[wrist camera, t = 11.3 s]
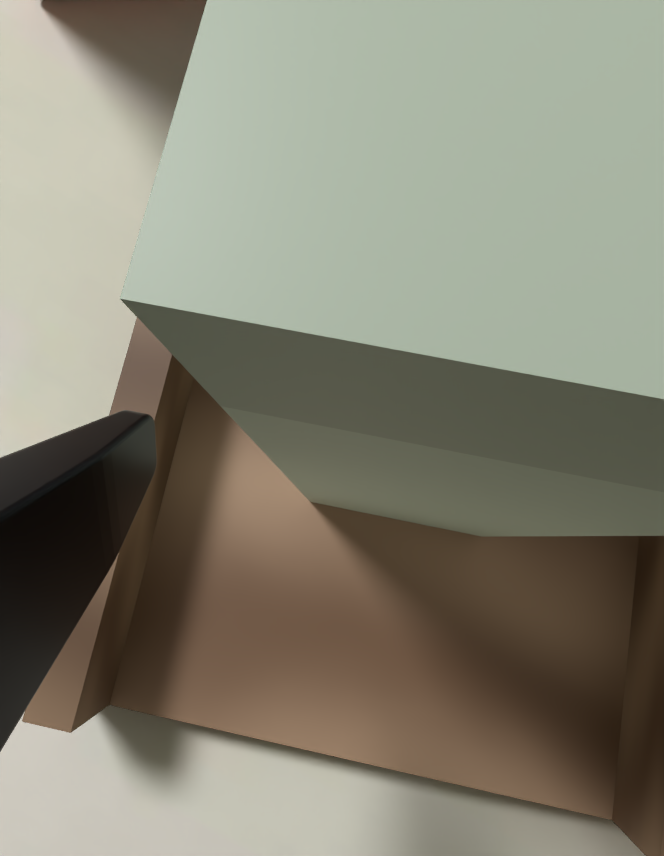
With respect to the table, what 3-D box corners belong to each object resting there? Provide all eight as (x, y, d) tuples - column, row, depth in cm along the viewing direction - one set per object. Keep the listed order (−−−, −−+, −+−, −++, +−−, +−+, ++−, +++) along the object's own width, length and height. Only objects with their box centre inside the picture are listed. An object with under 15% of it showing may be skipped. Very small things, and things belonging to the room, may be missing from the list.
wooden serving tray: (642, 815, 15) (714, 883, 12) (81, 687, 16) (22, 721, 13) (694, 223, 18) (760, 163, 16) (226, 145, 19) (206, 75, 16)
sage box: (481, 536, 16) (1387, 531, 2) (309, 501, 16) (120, 297, 2) (506, 370, 17) (1240, -380, 3) (343, 340, 17) (345, -471, 3)
